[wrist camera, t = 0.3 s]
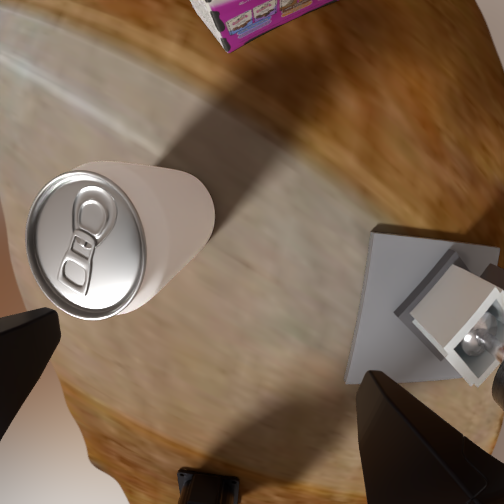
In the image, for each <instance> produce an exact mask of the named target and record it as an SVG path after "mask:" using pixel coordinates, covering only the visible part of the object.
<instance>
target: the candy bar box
mask: <svg viewBox="0 0 504 504" xmlns="http://www.w3.org/2000/svg"><path fill="white" fill-rule="evenodd" d="M190 1H191V3H192V5H193V7H194V9H195V11H196V13H197V14H198V16H199V17H200V18H201V19H202V20H203V22H204V23H205V24H206V26H207V27H208V28H209V29H210V31H211V32H212V33H213V35H214V36H215V37H216V39H217V40H218V41H219V43H220V44H221V45H222V47H223V48H224V49H225V51H226V52H227V53H231V52H232V51H234V50H236V49H238V48H239V47H241V46H243V45H245V44H246V43H248V42H250V41H252V40H254V39H255V38H257V37H259V36H261V35H263V34H265V33H267V32H269V31H271V30H272V29H274V28H276V27H278V26H280V25H282V24H284V23H287V22H289V21H291V20H293V19H295V18H297V17H299V16H302V15H304V14H306V13H308V12H311V11H313V10H315V9H318V8H320V7H323V6H325V5H328V4H330V3H333V2H335V1H338V0H190Z"/></svg>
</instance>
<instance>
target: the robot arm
mask: <svg viewBox="0 0 504 504" xmlns="http://www.w3.org/2000/svg"><path fill="white" fill-rule="evenodd" d="M60 338H61V331H60V325H59V318H58V313H57V312H56V311H55V310H53V309H50V308H46V307H44V308H40V309H36V310H31V311H27V312H23V313H19V314H15V315H10V316H6V317H2V318H0V441H1V439H2V437H3V435H4V434H5V432H6V430H7V429H8V427H9V425H10V424H11V422H12V420H13V419H14V417H15V415H16V414H17V412H18V411H19V409H20V408H21V406H22V404H23V403H24V401H25V400H26V398H27V397H28V395H29V393H30V392H31V390H32V389H33V387H34V386H35V384H36V383H37V381H38V380H39V378H40V376H41V374H42V373H43V371H44V369H45V367H46V365H47V363H48V362H49V360H50V358H51V356H52V354H53V352H54V351H55V349H56V347H57V345H58V343H59V342H60ZM356 408H357V424H358V442H359V450H360V456H361V463H362V469H363V475H364V482H365V489H366V496H367V503H368V504H504V463H502V462H500V461H499V460H497V459H496V458H494V457H493V456H491V455H490V454H488V453H487V452H485V451H484V450H483V449H481V448H480V447H478V446H477V445H476V444H474V443H473V442H472V441H471V440H469V439H468V438H467V437H465V436H464V437H463V434H461V433H460V432H459V431H458V430H456V429H455V428H454V427H452V426H451V425H450V424H449V423H447V422H446V421H445V420H443V419H442V418H441V417H440V416H438V415H437V414H436V413H434V412H433V411H432V410H431V409H429V408H428V407H427V406H426V405H424V404H423V403H422V402H420V401H419V400H418V399H417V398H415V397H414V396H413V395H412V394H410V393H409V392H408V391H406V390H405V389H404V388H403V387H401V386H400V385H399V384H398V383H396V382H395V381H394V380H393V379H391V378H390V377H389V376H387V375H386V374H385V373H384V372H382V371H380V370H368V371H367V372H366V373H365V375H364V377H363V380H362V382H361V384H360V387H359V389H358V391H357V395H356ZM177 476H178V483H179V490H180V498H179V501H178V504H237V503H238V491H239V479H238V478H236V477H228V476H219V475H212V474H205V473H198V472H192V471H186V470H179V471H178V473H177Z"/></svg>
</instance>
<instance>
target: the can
mask: <svg viewBox="0 0 504 504" xmlns="http://www.w3.org/2000/svg"><path fill="white" fill-rule="evenodd" d="M214 223H215V210H214V204H213V201H212V198H211V196H210V194H209V192H208V190H207V189H206V187H205V186H204V185H203V184H202V182H201V181H200V180H199V179H197V178H196V177H194V176H193V175H191V174H189V173H186V172H183V171H179V170H174V169H169V168H162V167H156V166H149V165H141V164H133V163H125V162H115V161H96V162H90V163H86V164H83V165H80V166H78V167H76V168H74V169H72V170H71V171H69V172H65V173H63V174H60V175H58V176H56V177H55V178H53V179H52V180H51V181H49V182H48V183H47V184H46V185H45V186H44V187H43V188H42V189H41V191H40V192H39V193H38V195H37V196H36V198H35V200H34V202H33V204H32V206H31V209H30V211H29V215H28V219H27V224H26V234H25V242H26V252H27V257H28V261H29V265H30V268H31V271H32V273H33V275H34V278H35V280H36V282H37V283H38V285H39V287H40V288H41V290H42V291H43V293H44V294H45V295H46V296H47V297H48V299H49V300H50V301H51V302H52V303H53V304H55V305H56V306H57V307H58V308H60V309H61V310H62V311H64V312H66V313H68V314H69V315H72V316H74V317H77V318H80V319H85V320H102V319H107V318H110V317H112V316H114V315H119V314H124V313H128V312H131V311H133V310H135V309H137V308H139V307H140V306H142V305H144V304H145V303H146V302H148V301H149V300H150V299H151V298H152V297H153V296H155V295H156V294H157V293H158V292H159V291H160V290H161V289H162V288H163V287H164V286H165V285H166V284H167V283H168V282H169V281H170V280H171V279H172V278H173V277H174V276H175V275H176V274H177V273H178V272H179V271H180V270H181V269H182V268H183V267H184V266H185V265H186V264H187V263H188V262H190V261H191V260H192V259H193V258H194V257H195V256H196V255H197V254H198V253H199V252H200V250H201V249H202V248H203V247H204V246H205V245H206V243H207V242H208V240H209V238H210V236H211V234H212V231H213V228H214Z"/></svg>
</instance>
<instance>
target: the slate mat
mask: <svg viewBox="0 0 504 504" xmlns="http://www.w3.org/2000/svg"><path fill="white" fill-rule="evenodd" d="M448 249H451V250H453V251H456V253H457V254H458V255H459V257H460V258H461V259H462V261H463V262H464V263H465V265H466V266H467V268H468V269H469V270H470V272H471V273H472V274H474V275H476V276H478V277H480V276H481V274H482V273H483V272H484V270H485V269H486V268H487V266H488V265H489V264H490V263H491V264H493V265H496V266H497V264H498V259H499V253H500V248H498V247H495V246H488V245H481V244H473V243H466V242H458V241H450V240H442V239H434V238H425V237H417V236H408V235H399V234H390V233H380V232H371V233H370V241H369V249H368V256H367V263H366V270H365V276H364V282H363V288H362V294H361V300H360V306H359V311H358V316H357V321H356V327H355V331H354V336H353V341H352V346H351V350H350V355H349V359H348V364H347V368H346V372H345V376H344V381H345V383H346V384H361V382H362V380H363V377H364V375H365V373H366V372H367V371H368V370H380V371H382V372H384V373H385V374H386V375H387V376H389V377H390V378H391V379H393V380H394V381H395V382H396V383H406V382H422V381H434V380H445V379H455V378H463V377H462V376H461V375H460V374H459V373H458V371H457V370H456V369H455V368H454V367H453V366H452V365H451V364H450V363H449V361H448V360H447V359H446V358H444V359H443V360H442V361H441V362H440V360H439V359H438V358H437V357H436V356H435V355H434V354H433V353H432V352H431V351H430V350H429V349H428V348H427V347H426V346H425V345H424V344H423V343H422V342H421V341H420V340H419V338H418V337H417V336H416V335H415V334H414V333H413V332H412V331H411V330H410V329H409V328H408V327H407V326H406V325H405V324H404V323H403V322H402V321H401V320H400V319H399V318H398V317H397V316H396V315H395V314H394V313H393V312H394V311H395V310H396V309H397V308H398V307H399V306H400V305H401V303H402V302H403V301H404V300H405V299H406V298H407V297H408V296H409V295H410V294H411V293H412V291H413V290H414V289H415V288H416V287H417V286H418V285H419V284H420V282H421V281H422V280H423V279H424V278H425V277H426V276H427V274H428V273H429V272H430V271H431V270H432V269H433V267H434V266H435V265H436V264H437V263H438V261H439V260H440V259H441V258H442V256H443V255H444V254H445V253H446V252H447V250H448Z"/></svg>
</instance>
